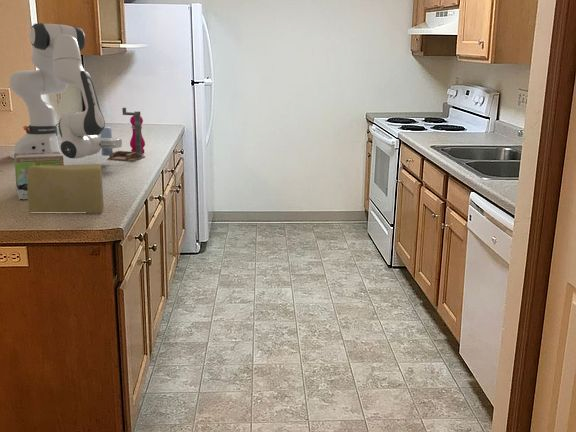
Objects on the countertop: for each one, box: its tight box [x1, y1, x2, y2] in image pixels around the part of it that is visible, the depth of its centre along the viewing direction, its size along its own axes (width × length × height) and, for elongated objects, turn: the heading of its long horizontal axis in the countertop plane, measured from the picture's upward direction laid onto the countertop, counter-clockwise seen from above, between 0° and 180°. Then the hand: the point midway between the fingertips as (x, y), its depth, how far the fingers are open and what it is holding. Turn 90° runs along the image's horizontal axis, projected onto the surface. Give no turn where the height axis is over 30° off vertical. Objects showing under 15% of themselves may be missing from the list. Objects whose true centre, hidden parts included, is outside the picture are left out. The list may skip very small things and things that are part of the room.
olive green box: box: [27, 163, 105, 214], centre depth 192 cm, size 22×10×15 cm, turn 103°
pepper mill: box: [129, 115, 146, 155], centre depth 297 cm, size 7×7×20 cm
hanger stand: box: [107, 107, 146, 162], centre depth 282 cm, size 12×13×23 cm
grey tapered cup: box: [100, 126, 114, 157], centre depth 270 cm, size 5×5×12 cm
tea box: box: [13, 152, 65, 200], centre depth 212 cm, size 15×10×15 cm
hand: (107, 139), depth 270 cm, fingers closed on grey tapered cup, 5 cm apart
